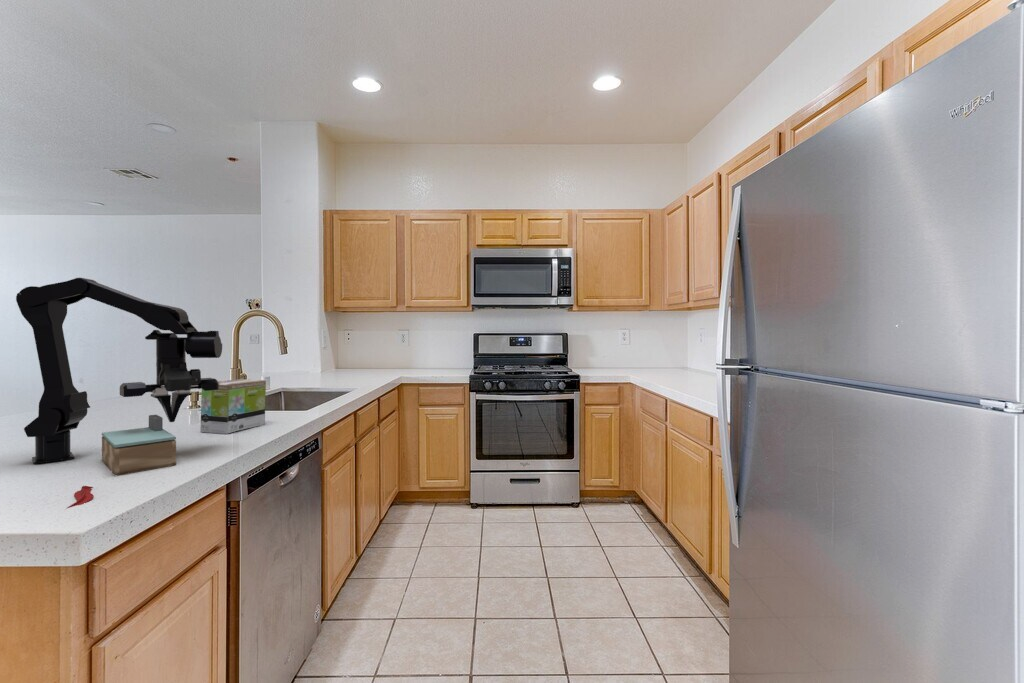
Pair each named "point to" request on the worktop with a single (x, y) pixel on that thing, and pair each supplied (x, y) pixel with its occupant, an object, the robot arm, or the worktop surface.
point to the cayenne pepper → (82, 496)
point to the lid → (140, 434)
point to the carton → (138, 456)
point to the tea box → (233, 406)
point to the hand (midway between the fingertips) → (171, 421)
